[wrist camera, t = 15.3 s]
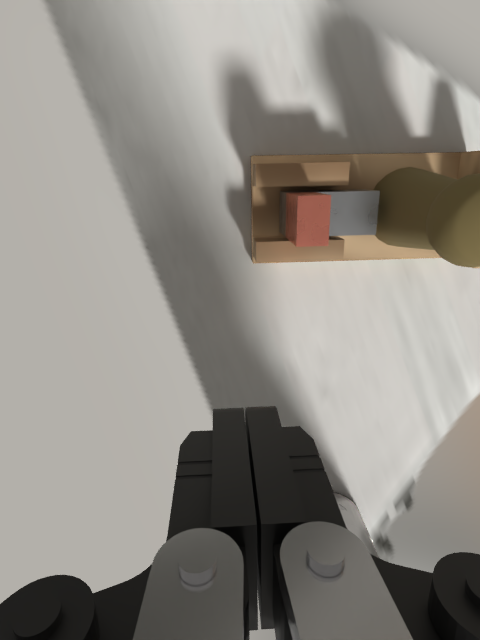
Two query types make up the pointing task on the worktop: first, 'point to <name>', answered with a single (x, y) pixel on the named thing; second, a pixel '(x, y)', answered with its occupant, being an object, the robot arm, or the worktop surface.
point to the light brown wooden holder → (335, 175)
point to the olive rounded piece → (431, 214)
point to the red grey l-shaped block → (327, 215)
